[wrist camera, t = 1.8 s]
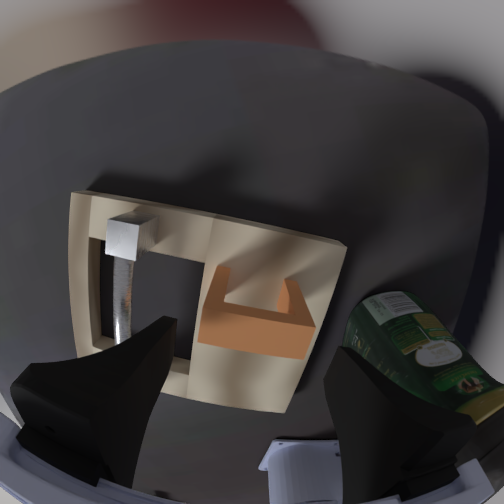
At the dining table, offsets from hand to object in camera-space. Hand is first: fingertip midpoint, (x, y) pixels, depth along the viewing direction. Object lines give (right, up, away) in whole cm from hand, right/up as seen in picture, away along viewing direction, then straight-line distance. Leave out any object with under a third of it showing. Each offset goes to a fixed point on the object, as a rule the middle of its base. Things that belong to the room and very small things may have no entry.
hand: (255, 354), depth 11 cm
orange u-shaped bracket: (0, +2, +7) cm, 7 cm away
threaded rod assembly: (-9, 0, +8) cm, 12 cm away
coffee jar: (+11, -3, +11) cm, 16 cm away
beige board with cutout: (-5, 0, +10) cm, 11 cm away
